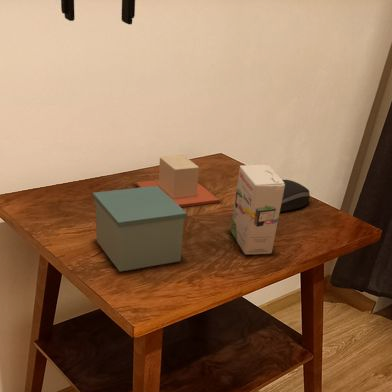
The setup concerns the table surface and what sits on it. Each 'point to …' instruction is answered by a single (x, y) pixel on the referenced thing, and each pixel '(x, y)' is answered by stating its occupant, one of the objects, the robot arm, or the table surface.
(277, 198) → the ink box
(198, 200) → the mat
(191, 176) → the small box
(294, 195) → the computer mouse
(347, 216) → the table surface
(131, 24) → the robot arm
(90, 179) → the table surface
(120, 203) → the storage box
